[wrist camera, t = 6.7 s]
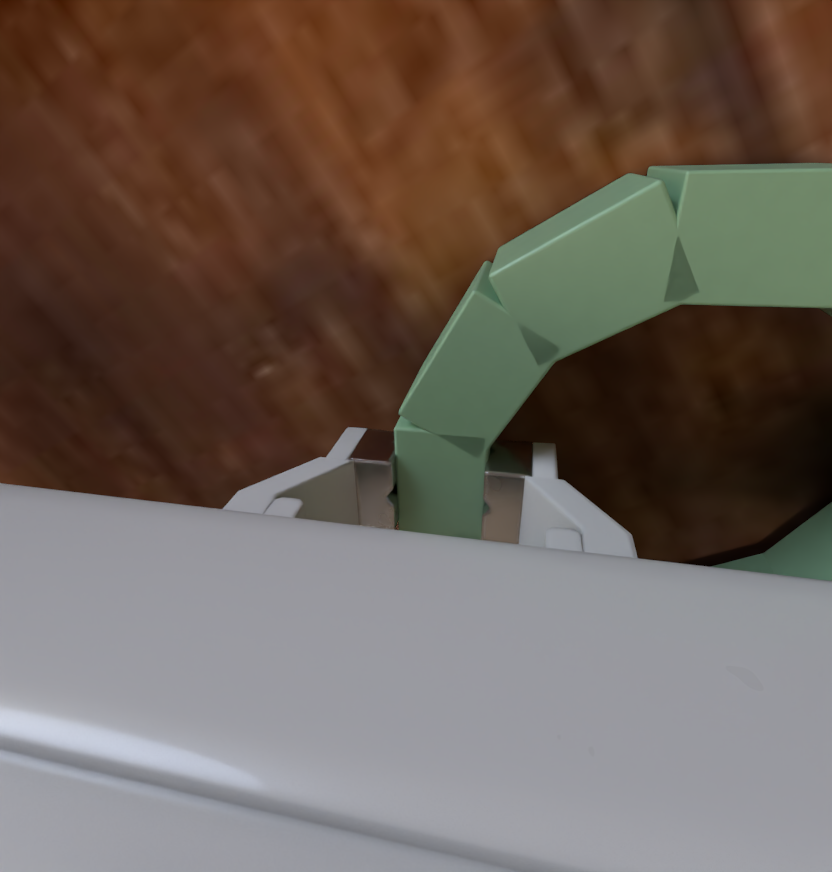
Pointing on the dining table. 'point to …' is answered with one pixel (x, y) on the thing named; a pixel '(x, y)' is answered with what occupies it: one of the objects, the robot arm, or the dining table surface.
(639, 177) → the ring
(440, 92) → the dining table surface
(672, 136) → the dining table surface
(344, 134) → the dining table surface
